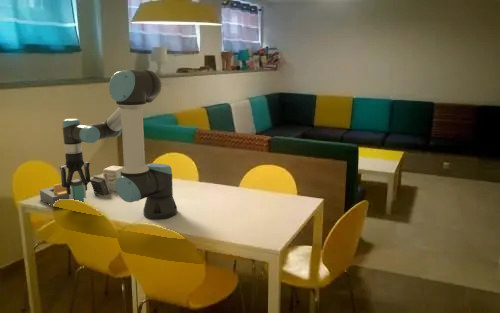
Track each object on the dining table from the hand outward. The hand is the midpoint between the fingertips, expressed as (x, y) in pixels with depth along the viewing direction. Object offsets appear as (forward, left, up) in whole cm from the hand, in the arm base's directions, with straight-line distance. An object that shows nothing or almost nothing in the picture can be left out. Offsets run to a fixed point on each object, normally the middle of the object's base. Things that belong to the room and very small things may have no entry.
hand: (77, 198), depth 208 cm
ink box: (+10, -25, -3) cm, 28 cm away
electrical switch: (+8, -16, -3) cm, 18 cm away
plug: (0, 0, -3) cm, 3 cm away
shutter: (+7, +4, +2) cm, 8 cm away
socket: (+12, +4, -3) cm, 13 cm away
